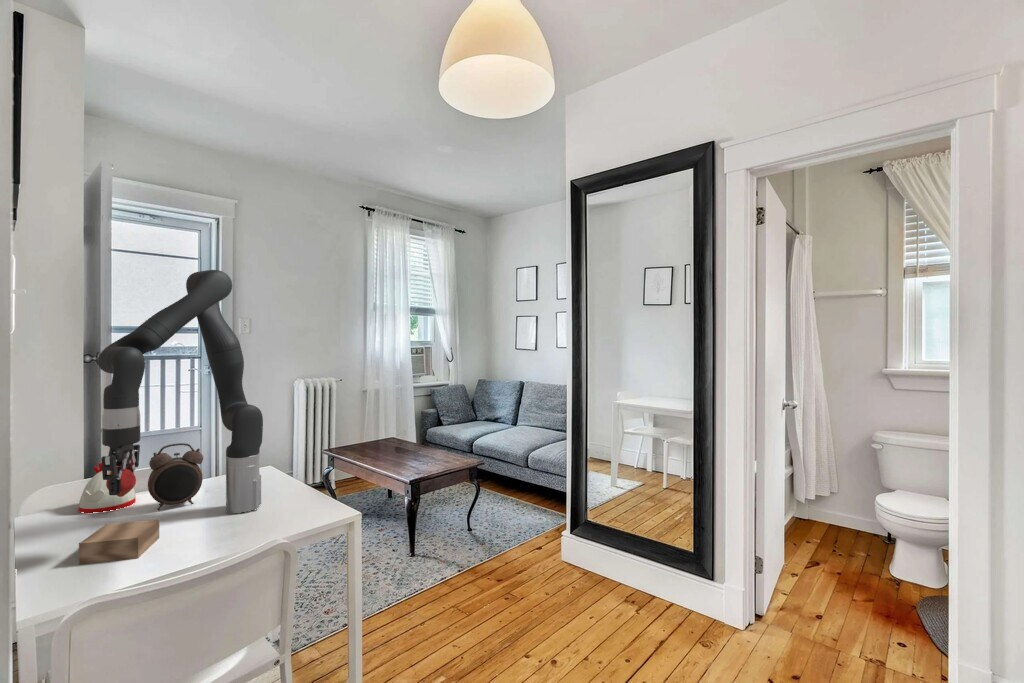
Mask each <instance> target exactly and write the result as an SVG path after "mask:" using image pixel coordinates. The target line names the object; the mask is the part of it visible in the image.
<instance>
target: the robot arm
mask: <svg viewBox="0 0 1024 683" xmlns="http://www.w3.org/2000/svg"><path fill="white" fill-rule="evenodd" d="M185 288H186V295H184V296H182V298H180V299H178V300H176V301H174V302H173V303H172V304H170V305H167V306H166V307H164V308H162V309H161V310H159V311H157V312H156V313H154V314H153V315H151V317H149V318H148V319H146V320H145V321H144V322H142V323H141V324H140V325H139V326H137V327H136V328H135V330H133V331H131V332H130V333H128V334H125V335H124V336H122V337H121V338H119V339H117V340H115V341H113V342H112V343H110V344H109V345H108V346H107V347H105V348H104V349H102V351H101V352H100V353H99V355H98V357H97V366H98V367H99V370H101V371H103V372H105V373H107V374H112V377H111V378H112V379H111V383H110V384H109V385H106V387H104V389H103V396H102V397H103V399H102V400H103V403H102V404H103V410H102V417H101V427H102V429H101V444H102V445H103V446H104V447H108V448H109V451H108V455H104V456H102V457H101V459H100V461H101V462H100V463H102V475H103V480H107V481H109V495H119V494H120V493H121V475H122V471H123V470H125V468H126V469H128V470H130V471H132V472H133V474H134V475H135V473H134V472H135V471H136V468H139V464H140V462H139V461H140V452H141V451H140V450H141V449H140V448H141V445H140V444H137V443H139V442H140V441H141V411H140V387H141V385H142V382H143V377H144V375H145V374H144V373H145V368H146V359H145V356H144V355H145V354H146V353H149V352H154V351H157V350H158V349H159V348H160V347H162V346H163V345H164V344H166V342H168V341H169V340H170V339H171V338H172V337H173V336H174V335H176V334H177V333H178V332H179V331H180V330H181V329H182V328H184V327H185V326H186V325H187V324H189V323H190V322H191V321H193V319H195V318H196V319H197V322H198V326H199V330H200V333H201V336H202V341H203V343H204V348H205V352H206V356H207V361H208V364H209V367H210V370H211V374H212V378H213V380H214V384H215V388H216V392H217V395H218V401H219V409H220V417H221V422H222V424H223V426H224V428H226V430H228V431H230V432H231V440H230V441H231V443H230V444H229V445H228V446H227V447H226V448H225V511H227V512H226V513H228V512H229V513H228V514H232V513H238V514H242V513H241V512H245V513H247V512H246V511H250V512H252V511H251V510H254V511H256V510H255V509H257V508H258V507H260V506H261V505H262V475H261V474H260V448H261V447H262V443H263V432H264V431H263V430H264V418H263V416H264V415H263V413H262V410H261V409H260V408H259V407H257V406H256V405H254V404H248V401H247V399H246V395H245V393H244V388H243V377H244V376H243V375H244V371H245V370H244V368H245V360H244V354H243V350H242V348H241V344H240V341H239V339H238V337H237V335H236V333H235V332H234V331H233V330H232V328H231V327H230V326H229V324H228V323H227V321H226V320H225V318H224V316H223V314H222V311H221V308H220V303H219V302H221V301H223V300H224V299H226V298H227V297H228V296H229V295H230V294H231V292H232V290H233V282H232V279H231V277H230V276H229V274H228V273H226V272H225V271H223V270H219V269H207V270H200V271H195V272H193V273H191V274H190V275H188V277H187V279H186V282H185ZM116 466H119V467H116ZM107 471H108V474H107ZM117 471H118V472H117ZM260 504H261V505H260ZM259 505H260V506H259ZM258 509H259V508H258ZM258 509H257V510H258Z"/></svg>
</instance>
